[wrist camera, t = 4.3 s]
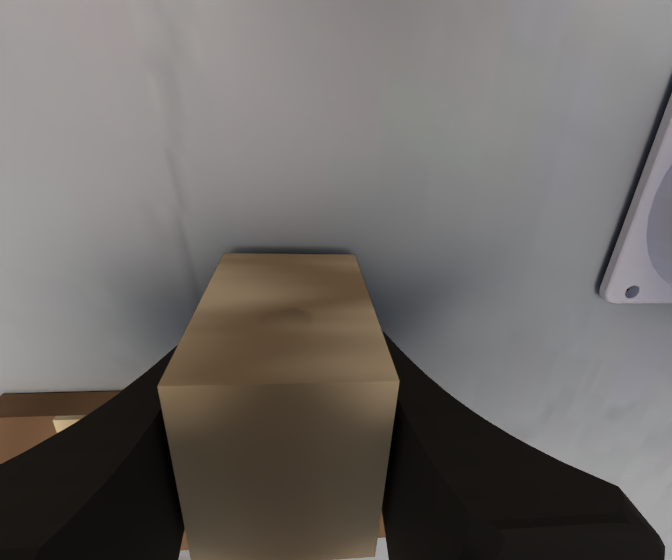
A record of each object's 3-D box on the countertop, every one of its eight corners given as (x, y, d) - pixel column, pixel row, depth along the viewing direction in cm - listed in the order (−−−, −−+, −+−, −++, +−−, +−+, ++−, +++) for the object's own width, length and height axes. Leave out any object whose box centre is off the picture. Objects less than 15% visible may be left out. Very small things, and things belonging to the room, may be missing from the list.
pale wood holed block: (354, 254, 12) (399, 380, 7) (342, 431, 15) (366, 615, 10) (223, 253, 12) (157, 386, 6) (239, 435, 15) (204, 629, 9)
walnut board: (423, 383, 16) (434, 408, 14) (401, 511, 19) (408, 540, 18) (2, 394, 14) (-27, 422, 13) (59, 530, 18) (40, 563, 16)
